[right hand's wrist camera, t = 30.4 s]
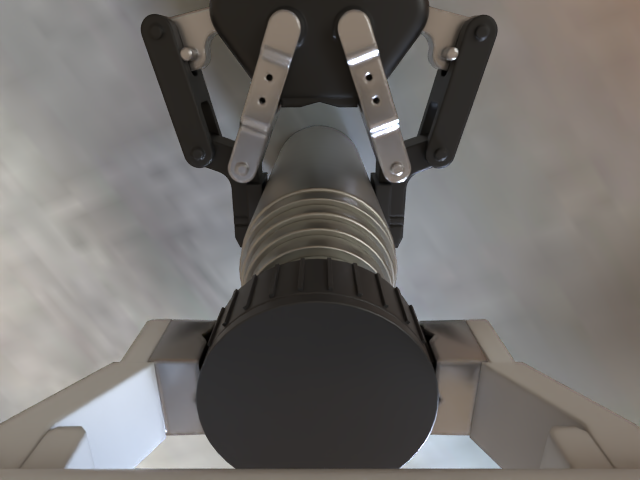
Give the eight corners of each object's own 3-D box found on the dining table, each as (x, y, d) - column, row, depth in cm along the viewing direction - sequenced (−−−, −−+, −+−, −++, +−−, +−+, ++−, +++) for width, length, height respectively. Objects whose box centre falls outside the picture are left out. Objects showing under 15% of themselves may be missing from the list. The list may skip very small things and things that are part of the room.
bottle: (261, 179, 27) (153, 406, 9) (306, 108, 25) (277, 220, 8) (330, 223, 28) (348, 499, 11) (377, 156, 26) (490, 350, 9)
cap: (300, 458, 11) (297, 527, 10) (169, 333, 10) (139, 389, 8) (461, 366, 10) (488, 425, 9) (338, 211, 9) (343, 247, 7)
